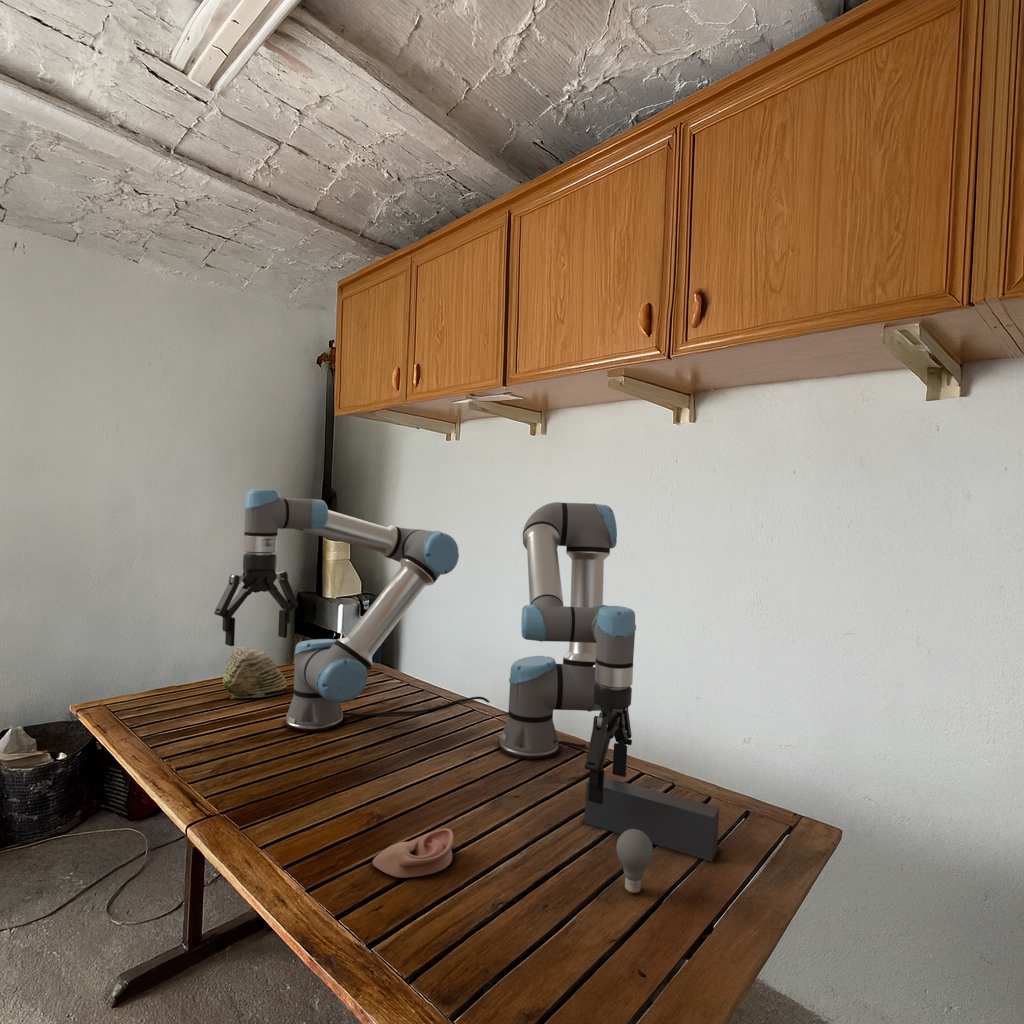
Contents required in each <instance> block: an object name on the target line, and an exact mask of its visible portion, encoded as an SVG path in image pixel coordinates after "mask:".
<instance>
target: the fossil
mask: <svg viewBox="0 0 1024 1024" xmlns="http://www.w3.org/2000/svg"><path fill="white" fill-rule="evenodd" d="M222 676H223V677H222V685H223V687H224V688H225V690H226V691H228V693H229V698H230V699H250V698H264V697H271V696H275V695H281V694H284V693H285V691H286V689H287V687H288V686H287V680H286V678H285V676H284V674H283V673H282V672H281V669H279V668H278V667H277V665H276V663H275V662H274V660H273V659H272V658H271V657H270V656H269V655H268V654H267V653H266V652H265V650H264V649H263V648H260V647H258V648H251V647H247V646H246V647H245V646H238V647H237V648H236V649H235V650H233V651H232V653H231V656H230V657H229V659H228V660H227V663H226V666H225V668H224V671H223V675H222Z"/></svg>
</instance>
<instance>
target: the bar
mask: <svg viewBox="0 0 1024 1024" xmlns="http://www.w3.org/2000/svg"><path fill="white" fill-rule="evenodd" d="M585 784H586V785H585V806H584V824H587V825H590V826H593V827H597V828H599V829H603V830H606V831H609V832H613V833H617V834H620V835H621V834H622V833H623V832H625V831H627V830H629V829H637V830H640V831H642V832H644V833H645V834H646V835H647V836H648V838H649V839H650V841H651V843H652V845H655V846H658V847H662V848H665V849H668V850H672V851H674V852H677V853H682V854H685V855H688V856H691V857H695V858H697V859H701V860H704V861H708V862H711V863H712V862H713V861H714V859H715V856H716V854H717V851H718V844H719V843H718V842H719V823H720V820H719V819H720V807H719V806H716V805H712V804H708V803H704V802H701V801H697V800H693V799H689V798H685V797H681V796H677V795H674V794H670V793H666V792H662V791H658V790H655V789H651V788H647V787H644V786H639V785H637V784H632V783H628V782H625V781H621V780H618V779H617V780H616V779H613V778H609V777H605V776H604V786H603V803H602V804H598V803H594V802H591V801H588V792H589V780H587V781H586V783H585Z"/></svg>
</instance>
